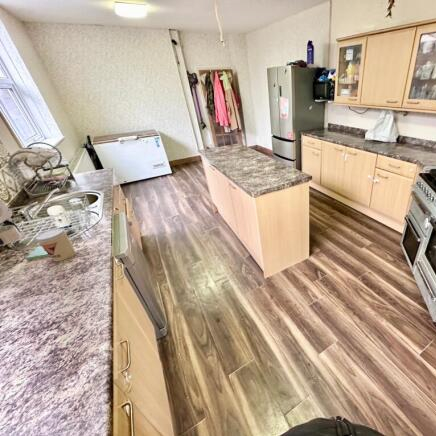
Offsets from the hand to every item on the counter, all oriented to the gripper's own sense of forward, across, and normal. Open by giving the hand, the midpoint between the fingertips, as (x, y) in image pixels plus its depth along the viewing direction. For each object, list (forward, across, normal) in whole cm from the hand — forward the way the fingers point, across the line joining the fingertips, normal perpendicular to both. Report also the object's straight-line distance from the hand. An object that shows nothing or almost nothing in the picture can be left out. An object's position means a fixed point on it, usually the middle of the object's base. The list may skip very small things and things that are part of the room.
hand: (6, 238), depth 83 cm
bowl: (+1, 0, 0) cm, 1 cm away
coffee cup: (+19, +14, -2) cm, 24 cm away
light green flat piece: (+19, +21, +7) cm, 29 cm away
